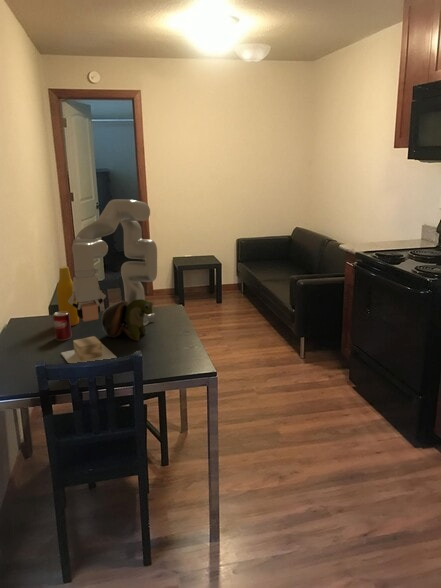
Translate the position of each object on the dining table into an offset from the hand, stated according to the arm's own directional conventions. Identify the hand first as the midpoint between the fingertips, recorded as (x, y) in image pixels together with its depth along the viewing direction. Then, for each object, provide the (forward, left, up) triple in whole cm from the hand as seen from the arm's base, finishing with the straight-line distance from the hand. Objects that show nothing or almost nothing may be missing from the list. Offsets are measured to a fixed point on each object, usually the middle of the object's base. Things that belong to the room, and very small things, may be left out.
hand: (88, 316), depth 195 cm
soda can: (+4, -29, -18) cm, 34 cm away
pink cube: (0, 0, -1) cm, 1 cm away
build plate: (+1, -1, -18) cm, 18 cm away
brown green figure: (-22, -14, -18) cm, 31 cm away
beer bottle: (-4, -48, -18) cm, 51 cm away
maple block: (+1, -1, -17) cm, 17 cm away
